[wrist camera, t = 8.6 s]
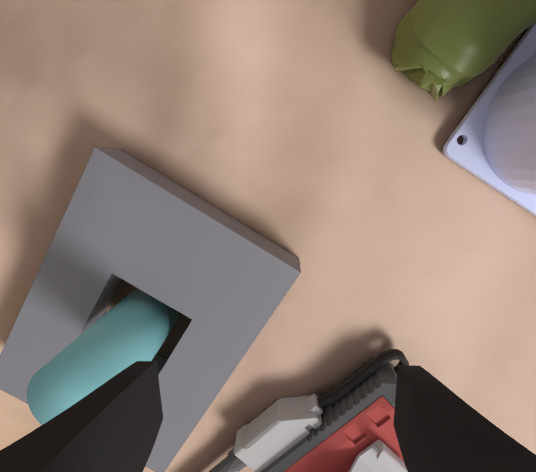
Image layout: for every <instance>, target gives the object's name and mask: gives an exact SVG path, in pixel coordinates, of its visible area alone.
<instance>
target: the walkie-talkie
mask: <svg viewBox="0 0 536 472" xmlns="http://www.w3.org/2000/svg"><path fill="white" fill-rule="evenodd" d="M395 359H398V360H400V362H399V363H398V365H400V366H409V363H408V361H407V359H406V357H405V356H404V354H403V352H401V351H400V350H398V349H390V350H387V351H385V352H382V353H381V354H380V355H378V356H377V357H376V358H375V359H371V361H370V362H369V363H365V364H364V367H362V368H359V369H358V371H357V372H356V373H355V374H354V373H353V374H352V376H351V377H350V378H349V379H348V378H347V379H345V382H344V383H340V384H339V387H337V388H334V389H333V391H332V392H331V393H327V394H323V395H321V396H319V397H318V396H317V395H316V394H315V393H314V394H313V395H307V396H297V397H286V398H280V399H278V400H277V401H276V402H274V403H273V404H272V405H271V406H270V407H268V408H267V409H266V410H265V411H264V412H262V413H261V414H260V415H259V416H258V417H256V418H255V419H254V420H253V421H251V422H250V423H249V424H245V425H243V426H242V427H241V428H240V429H239V430H238V431H237V435H236V440H235V446H234V448H233V449H232V450H231V451H229V453H228V456H227V457H226V458H225V459H224V460H222V461H221V462H220V463H219V464H217V465H216V466H215V467H214V468H213V469H211V470H210V471H209V472H235V471H236V472H238V471H240V470H241V469H243V468H244V467H245V466H246V465H247V466H249V467H250V468H251V469H252V470H253V471H255V472H408V471H407V468H406V466H405V463H404V460H403V457H402V453H401V450H400V447H399V443H398V440H397V436H396V432H395V429H394V425H393V423H394V410H395V397H396V384H397V372H398V365H397V366H395V367H394V366H393V365H392V364H391V363H390V362H389V361H392V360H395Z"/></svg>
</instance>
